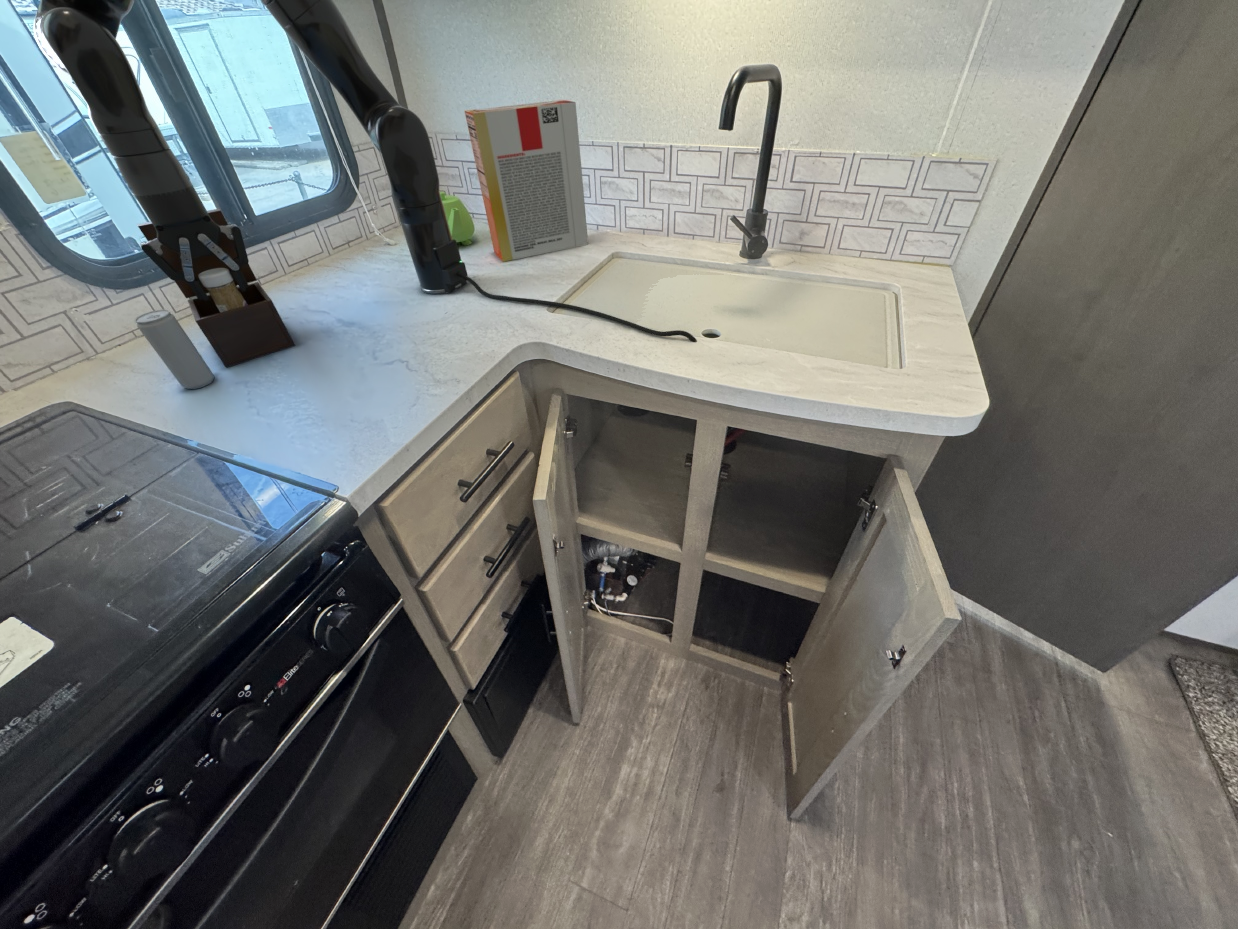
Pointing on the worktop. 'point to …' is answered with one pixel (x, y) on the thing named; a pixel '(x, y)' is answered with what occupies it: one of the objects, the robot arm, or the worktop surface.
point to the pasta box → (530, 177)
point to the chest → (242, 327)
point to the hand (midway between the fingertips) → (226, 295)
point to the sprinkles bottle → (222, 289)
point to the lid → (203, 261)
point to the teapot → (458, 219)
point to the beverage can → (175, 348)
